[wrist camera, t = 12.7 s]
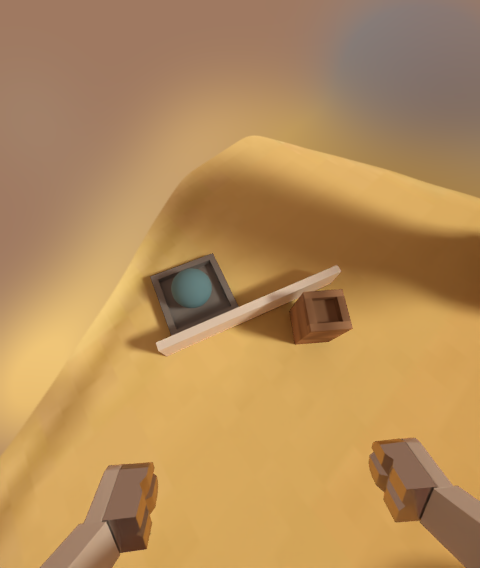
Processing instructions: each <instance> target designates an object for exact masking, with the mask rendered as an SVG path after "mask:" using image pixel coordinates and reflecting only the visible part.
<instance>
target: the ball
mask: <svg viewBox="0 0 480 568" xmlns="http://www.w3.org/2000/svg"><path fill="white" fill-rule="evenodd" d="M171 291H172V295H173V297H174V299H175V301H176V302H177V303H178V304H180V305H181V306H183V307H186V308H197V307H200V306H202V305H203V304H205V303H206V302H207V300H208V299H209V297H210V295H211V291H212V285H211V281H210V279H209V277H208V276H207V275H206V274H205V273H204V272H203V271H201V270H198V269H194V268H189V269H185V270H182V271H181V272H179V273H178V274H177V275H176V276H175V277H174V279H173V281H172V285H171Z"/></svg>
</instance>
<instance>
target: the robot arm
mask: <svg viewBox="0 0 480 568" xmlns="http://www.w3.org/2000/svg"><path fill="white" fill-rule="evenodd" d="M372 449H373V451H374V452H373V453H372V454H371V455H370V456H369V468H370V472H371V475H372V478H373V480H374V482H375V484H376V485H377V486H378V487H379V488H380V489H381V490H382V491H384V499H383V500H384V502H385V504H386V505H387V507H388V509H389V511H390V513H391V515H392V517H393V519H394V521H395V522H408V521H420V523H421V524H422V525H423V526H424V527H425V528H426V529H427V530H428V531H429V532H430V533H431V534H432V535H433V536H434V537H435V538H436V539H437V540H438V541H439V542H440V543H441V544H442V545H443V546H444V547H445V548H446V549H448V550H449V551H450V552H451V553H452V554H453V555H454V556H455V557H456V558H457V559H458V560H459V561H460V562H461V563H462V564H463V565H464V566H465V567H466V568H480V501H479V500H477V499H476V498H474V497H473V496H471V495H470V494H469V493H467V492H466V491H464V490H463V489H461V488H460V487H459V486H453V485H452V484H451V482H450V481H449V480H448V478H447V477H446V476H445V475H444V473H443V472H442V471H441V469H440V468H439V467H438V465H437V464H436V463H435V461H434V460H433V459H432V457H431V456H430V455H429V454H428V452H427V451H426V450H425V448H424V447H423V446H422V444H421V443H420V442H419V441H418V440H417V439H416V438H404V439H391V440H382V441H375V442H373V444H372ZM153 472H154V465H153V462H147V463H135V464H121V465H111V466H108V467H107V469H106V470H105V472H104V474H103V477H102V479H101V482H100V484H99V487H98V489H97V491H96V494H95V496H94V499H93V501H92V504H91V506H90V509H89V511H88V514H87V516H86V519H85V521H84V523H83V524H79V525H78V526H77V527H76V528H75V529H74V530H73V531H72V532H71V534H70V535H69V536H68V537H67V538H66V539H65V540H64V541H63V542H62V544H61V545H60V546H59V547H58V548H57V549H56V550H55V551H54V552H53V554H52V555H51V556H50V557H49V558H48V559H47V560H46V561H45V562H44V564H43V565H42V566H41V567H40V568H112V567H113V565H114V564H115V562H116V561H117V559H118V557H119V556H120V553H123V552H130V551H137V550H144V549H147V545H148V541H149V536H150V531H151V526H152V521H151V518H150V514H151V512H152V511H153V510H154V508H155V506H156V501H157V493H158V480H157V476H156V475H155V474H153Z"/></svg>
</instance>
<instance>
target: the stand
mask: <svg viewBox="0 0 480 568" xmlns="http://www.w3.org/2000/svg"><path fill="white" fill-rule="evenodd" d="M289 312H290V317H291V323H292V329H293V335H294V341H295V344H307V343H319V342H329V341H331V340H333V339H335V338H336V337H338V336H340V335H342V334H344V333H345V332H347V331H349V330H351V329H353V328H352V324H351V320H350V316H349V313H348V309H347V305H346V301H345V298H344V294H343V290H342V289H339V290H324V291H308V292H303V293H302V294H301V296H300V297H299V299H298V300H297V302H296V303H295V304H294V306H293V307H292V309H291V310H290V311H289Z"/></svg>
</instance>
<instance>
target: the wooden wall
mask: <svg viewBox="0 0 480 568" xmlns="http://www.w3.org/2000/svg"><path fill="white" fill-rule="evenodd" d="M340 272H341V270H340V268H339V267H338V265H336V266H333V267H331V268H329V269H326V270H324V271H322V272H319V273H317V274H315V275H312V276H310V277H308V278H305V279H303V280H301V281H298V282H296V283H294V284H291V285H289V286H287V287H284V288H282V289H280V290H277V291H275V292H273V293H270V294H268V295H266V296H263V297H261V298H259V299H256V300H254V301H252V302H249V303H247V304H245V305H242V306H240V307H238V308H235V309H233V310H231V311H228V312H226V313H224V314H221V315H219V316H217V317H214V318H212V319H210V320H207V321H205V322H203V323H200V324H198V325H196V326H193V327H191V328H189V329H186V330H184V331H182V332H179V333H177V334H175V335H172V336H170V337H168V338H165V339H163V340H161V341H158V342H156V345H157V348H158V351H159V352H161V353H162V354H164V355H165V356H169V355H171V354H173V353H176V352H178V351H180V350H182V349H185V348H187V347H189V346H191V345H194V344H196V343H198V342H200V341H203V340H205V339H207V338H209V337H212V336H214V335H216V334H218V333H221V332H223V331H225V330H227V329H230V328H232V327H234V326H236V325H239V324H241V323H243V322H245V321H248V320H250V319H252V318H254V317H257V316H259V315H261V314H263V313H266V312H268V311H270V310H272V309H275V308H277V307H279V306H281V305H284V304H286V303H288V302H291V301H293V300H295V299H297V298H299V297H300V296H301V294H302V293H303V292H308V291H315V290H318V289H320V288H322V287H324V286H327V285H329V284H331V282H332V281H333V280H334V279H335V278H336V277H337V276H338V275H339V273H340Z"/></svg>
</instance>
